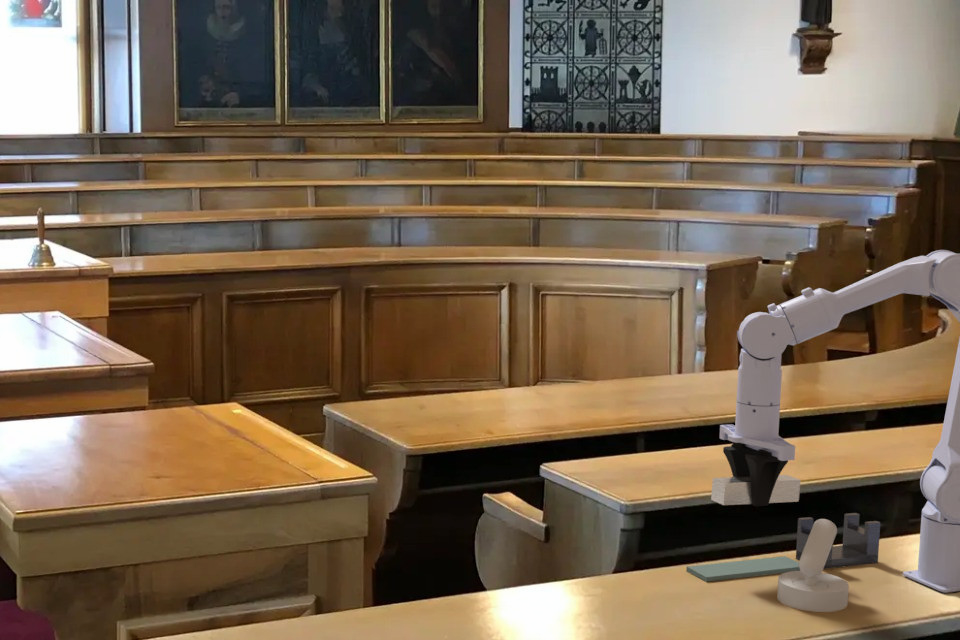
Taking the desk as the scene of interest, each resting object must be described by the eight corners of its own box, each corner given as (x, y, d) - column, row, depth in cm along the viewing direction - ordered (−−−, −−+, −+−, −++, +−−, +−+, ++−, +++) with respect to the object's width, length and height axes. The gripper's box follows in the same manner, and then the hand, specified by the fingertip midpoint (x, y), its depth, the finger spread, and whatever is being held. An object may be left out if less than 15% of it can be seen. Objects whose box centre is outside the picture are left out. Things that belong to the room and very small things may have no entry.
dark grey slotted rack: (853, 552, 183) (855, 512, 182) (877, 562, 178) (880, 522, 177) (795, 558, 179) (798, 518, 178) (819, 569, 174) (821, 528, 174)
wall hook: (860, 521, 163) (844, 540, 154) (856, 594, 164) (839, 616, 155) (793, 512, 167) (773, 529, 158) (789, 582, 168) (769, 604, 159)
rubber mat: (784, 560, 178) (785, 556, 178) (806, 570, 174) (806, 566, 174) (686, 570, 172) (686, 566, 172) (706, 581, 167) (706, 577, 167)
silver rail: (785, 496, 176) (787, 474, 175) (798, 501, 173) (800, 479, 173) (711, 499, 171) (712, 477, 171) (723, 505, 168) (725, 483, 168)
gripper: (703, 394, 175) (698, 491, 177) (765, 413, 162) (759, 518, 164) (746, 392, 178) (740, 487, 180) (810, 411, 165) (804, 514, 166)
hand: (752, 502), depth 172 cm, fingers closed on silver rail, 3 cm apart
